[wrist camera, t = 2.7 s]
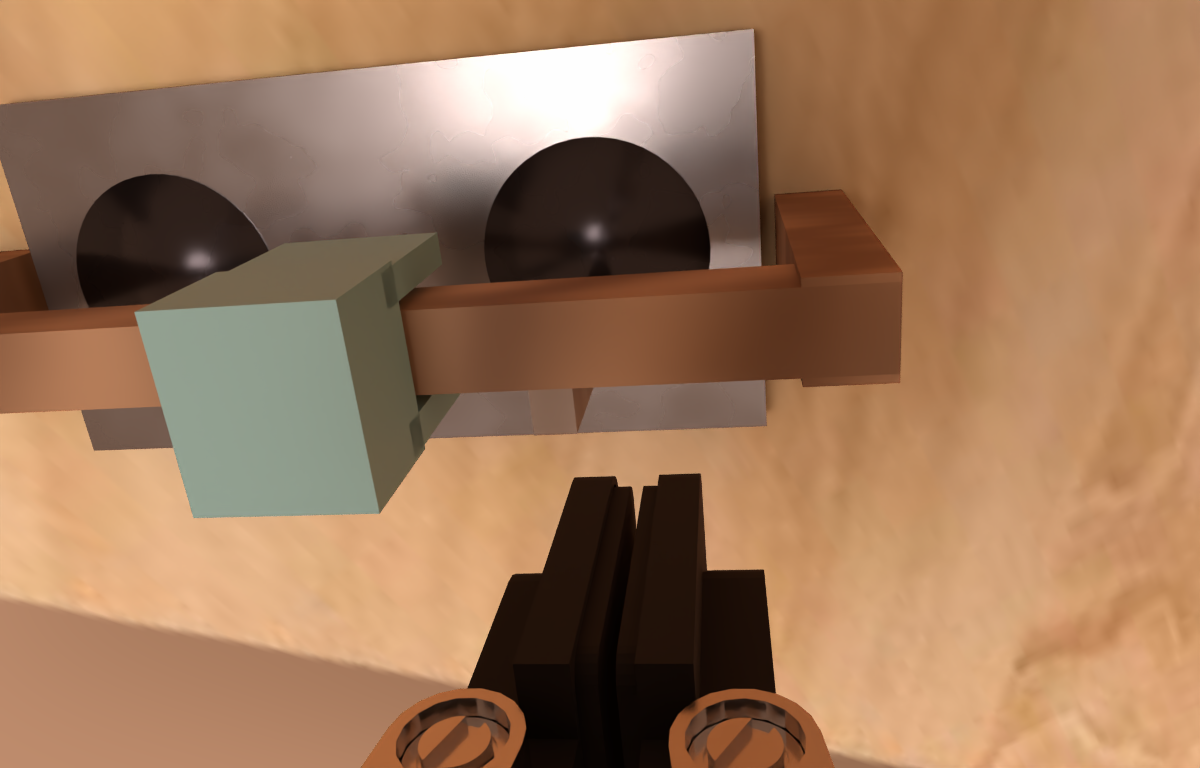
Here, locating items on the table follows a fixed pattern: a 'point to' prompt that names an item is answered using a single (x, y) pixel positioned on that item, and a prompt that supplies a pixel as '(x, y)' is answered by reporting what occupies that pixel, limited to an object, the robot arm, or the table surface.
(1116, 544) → the table surface
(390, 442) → the slider block
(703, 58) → the hole plate
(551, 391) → the beam
